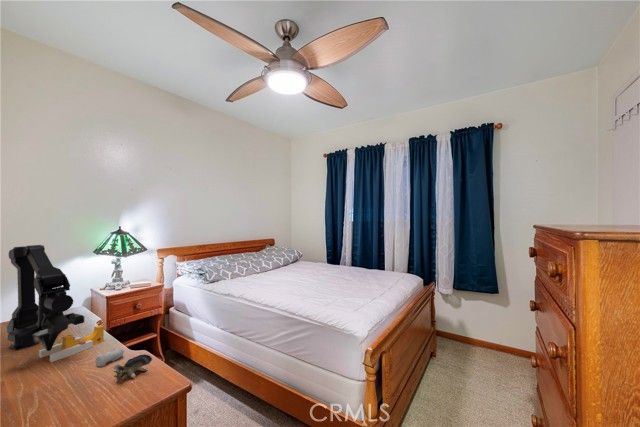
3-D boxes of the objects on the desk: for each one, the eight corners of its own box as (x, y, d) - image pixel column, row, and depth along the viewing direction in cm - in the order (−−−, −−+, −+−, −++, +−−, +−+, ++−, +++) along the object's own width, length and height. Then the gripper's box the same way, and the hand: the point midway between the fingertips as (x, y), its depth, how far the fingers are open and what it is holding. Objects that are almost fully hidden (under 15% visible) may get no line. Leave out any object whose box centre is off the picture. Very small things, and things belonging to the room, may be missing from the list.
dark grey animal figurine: (127, 385, 77) (156, 364, 85) (115, 364, 78) (146, 345, 86) (117, 391, 80) (146, 371, 89) (106, 371, 81) (136, 352, 89)
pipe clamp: (97, 339, 109) (97, 324, 109) (103, 341, 107) (103, 326, 107) (59, 353, 98) (60, 336, 98) (65, 355, 96) (66, 338, 96)
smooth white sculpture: (118, 358, 96) (126, 357, 94) (92, 369, 89) (100, 368, 87) (116, 346, 97) (124, 344, 95) (90, 356, 90) (99, 354, 88)
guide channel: (38, 356, 95) (39, 347, 95) (79, 342, 106) (79, 334, 106) (52, 362, 91) (52, 352, 91) (92, 347, 102) (93, 338, 102)
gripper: (23, 319, 83) (22, 369, 82) (93, 302, 100) (92, 343, 99) (7, 314, 87) (6, 361, 86) (76, 299, 104) (75, 338, 104)
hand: (48, 350), depth 94 cm, fingers closed
